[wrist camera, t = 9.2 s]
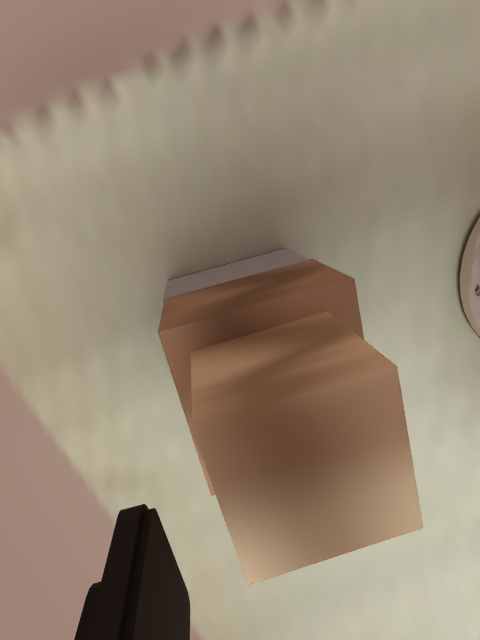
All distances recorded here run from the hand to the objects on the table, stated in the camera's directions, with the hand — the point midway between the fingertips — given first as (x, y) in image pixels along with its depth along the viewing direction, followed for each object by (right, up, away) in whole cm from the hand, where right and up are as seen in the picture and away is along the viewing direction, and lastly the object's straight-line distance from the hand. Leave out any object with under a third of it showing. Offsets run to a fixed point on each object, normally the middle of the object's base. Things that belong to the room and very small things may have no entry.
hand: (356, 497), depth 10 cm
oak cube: (-1, +2, +5) cm, 6 cm away
